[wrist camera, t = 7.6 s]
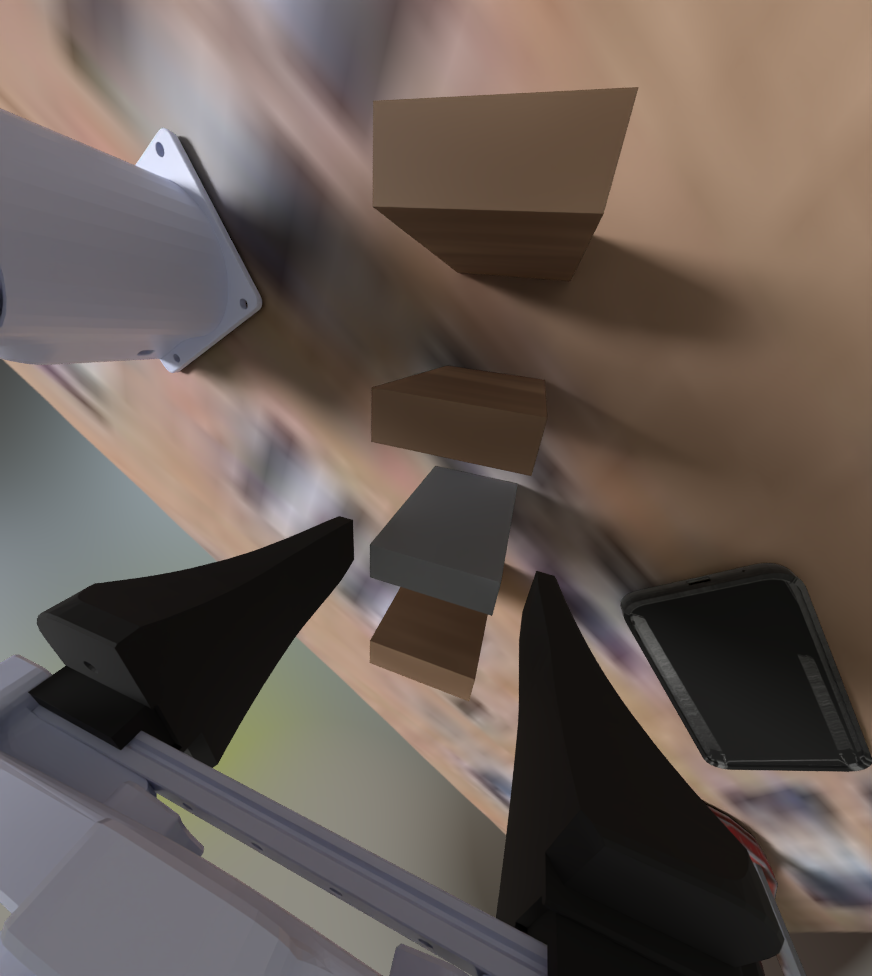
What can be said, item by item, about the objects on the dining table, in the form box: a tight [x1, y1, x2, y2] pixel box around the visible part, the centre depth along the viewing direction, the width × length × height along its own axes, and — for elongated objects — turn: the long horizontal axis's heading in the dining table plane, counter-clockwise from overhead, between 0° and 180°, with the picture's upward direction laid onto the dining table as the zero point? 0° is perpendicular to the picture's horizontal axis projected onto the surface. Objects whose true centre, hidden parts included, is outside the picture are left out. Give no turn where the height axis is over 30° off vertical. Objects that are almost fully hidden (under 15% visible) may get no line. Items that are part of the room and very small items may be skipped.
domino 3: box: [370, 466, 518, 616], centre depth 14 cm, size 2×5×8 cm, turn 84°
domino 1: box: [373, 87, 638, 281], centre depth 9 cm, size 2×5×8 cm, turn 84°
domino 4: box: [370, 587, 488, 701], centre depth 17 cm, size 2×5×8 cm, turn 84°
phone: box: [620, 563, 872, 772], centre depth 18 cm, size 8×1×15 cm
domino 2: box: [371, 366, 547, 476], centre depth 12 cm, size 2×5×8 cm, turn 84°
